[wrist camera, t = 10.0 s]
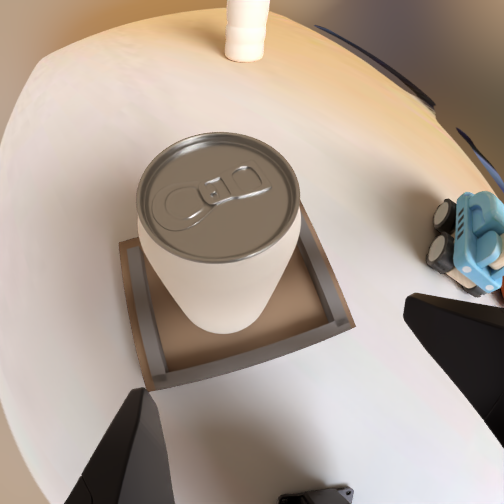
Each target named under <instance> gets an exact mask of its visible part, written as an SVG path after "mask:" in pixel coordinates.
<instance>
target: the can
mask: <svg viewBox="0 0 504 504" xmlns="http://www.w3.org/2000/svg"><path fill="white" fill-rule="evenodd" d="M299 204H300V188H299V183H298V180H297V177H296V175H295V173H294V171H293V169H292V167H291V166H290V164H289V163H288V162H287V160H286V159H285V158H284V157H283V156H282V155H281V154H280V153H279V152H277V151H276V150H275V149H274V148H272V147H271V146H269V145H267V144H266V143H264V142H262V141H260V140H257V139H255V138H252V137H249V136H246V135H242V134H237V133H229V132H212V133H204V134H199V135H195V136H191V137H188V138H185V139H183V140H180V141H178V142H176V143H174V144H172V145H171V146H169V147H168V148H166V149H165V150H163V151H162V152H161V153H160V154H158V155H157V156H156V157H155V158H154V159H153V160H152V162H151V163H150V164H149V165H148V167H147V168H146V170H145V171H144V173H143V175H142V177H141V179H140V182H139V185H138V189H137V195H136V206H137V212H138V220H137V227H138V235H139V239H140V242H141V245H142V248H143V251H144V253H145V255H146V257H147V258H148V260H149V262H150V264H151V265H152V267H153V269H154V270H155V272H156V273H157V275H158V276H159V278H160V279H161V281H162V282H163V284H164V285H165V287H166V288H167V290H168V291H169V293H170V294H171V295H172V297H173V298H174V300H175V301H176V302H177V304H178V305H179V307H180V308H181V309H182V311H183V312H184V313H185V315H186V316H187V317H188V318H189V319H190V320H191V321H192V322H193V323H194V324H195V325H196V326H198V327H200V328H201V329H203V330H206V331H208V332H212V333H217V334H229V333H234V332H238V331H240V330H243V329H245V328H246V327H248V326H249V325H251V324H252V323H253V322H254V321H255V320H256V319H257V318H258V317H259V316H260V314H261V313H262V311H263V310H264V308H265V306H266V304H267V303H268V301H269V299H270V297H271V295H272V293H273V291H274V290H275V288H276V286H277V284H278V282H279V280H280V278H281V276H282V274H283V272H284V270H285V268H286V266H287V264H288V262H289V260H290V258H291V256H292V254H293V251H294V249H295V247H296V244H297V241H298V237H299V233H300V227H301V213H300V207H299Z"/></svg>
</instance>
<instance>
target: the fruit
mask: <svg viewBox="0 0 504 504" xmlns="http://www.w3.org/2000/svg"><path fill="white" fill-rule="evenodd" d="M501 291H502V294H503V298H504V276H502V286H501Z"/></svg>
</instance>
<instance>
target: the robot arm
mask: <svg viewBox="0 0 504 504" xmlns="http://www.w3.org/2000/svg"><path fill="white" fill-rule="evenodd" d="M403 318H404V321H405V322H406V324H407V325H408V326H409V328H410V329H411V330H412V332H413V333H414V334H415V336H416V337H417V338H418V340H419V341H420V343H421V344H422V345H423V347H424V348H425V349H426V351H427V352H428V353H429V354H430V355H431V356H432V358H433V359H434V360H435V361H436V362H437V363H438V365H439V366H440V367H441V368H442V369H443V370H444V372H445V373H446V374H447V375H448V376H449V378H450V379H451V380H452V381H453V382H454V384H455V385H456V386H457V387H458V388H459V390H460V391H461V392H462V393H463V395H464V396H465V397H466V398H467V400H468V401H469V402H470V403H471V405H472V406H473V407H474V408H475V410H476V411H477V412H478V414H479V415H480V416H481V418H482V419H483V420H484V422H485V423H486V425H487V426H488V427H489V429H490V430H491V431H492V433H493V434H494V435H495V437H496V438H497V440H498V441H499V442H500V444H501V445H502V447H503V448H504V308H500V307H499V308H498V307H494V306H488V305H482V304H477V303H471V302H465V301H459V300H454V299H448V298H443V297H437V296H432V295H426V294H420V293H413V294H411V295H409V296H408V297H407V298H406V300H405V307H404V313H403ZM347 491H349V493H347V494H346V492H347ZM353 493H354V490H353V489H352V488H350V487H346V488H340V489H334V488H331V489H324V490H316V491H306V492H305V493H300V494H285V495H281V496H280V497H279V498H278V503H277V504H351V503H352V498H353ZM283 499H287V500H286V501H282V500H283ZM64 504H175V502H174V496H173V490H172V484H171V477H170V470H169V462H168V455H167V449H166V445H165V440H164V436H163V432H162V427H161V422H160V417H159V412H158V408H157V405H156V403H155V402H154V400H153V399H152V397H151V396H150V394H149V393H148V391H147V390H146V389H145V388H143V387H142V388H136V389H132V390H131V391H130V393H129V394H128V396H127V398H126V399H125V401H124V403H123V404H122V406H121V407H120V409H119V411H118V412H117V414H116V416H115V417H114V419H113V421H112V422H111V424H110V426H109V427H108V429H107V431H106V433H105V434H104V436H103V438H102V439H101V441H100V443H99V445H98V446H97V448H96V450H95V451H94V453H93V455H92V457H91V458H90V460H89V462H88V464H87V465H86V467H85V469H84V471H83V473H82V476H80V478H79V479H78V481H77V483H76V485H75V487H74V488H73V490H72V492H71V493H70V495H69V497H68V498H67V500H66V501H65V503H64Z"/></svg>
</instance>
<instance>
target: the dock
mask: <svg viewBox="0 0 504 504" xmlns="http://www.w3.org/2000/svg"><path fill="white" fill-rule="evenodd" d="M299 207H300V213H301V227H300V233H299V237H298V241H297V244H296V247H295V249H294V251H293V254H292V256H291V258H290V260H289V262H288V264H287V266H286V268H285V270H284V272H283V274H282V276H281V278H280V280H279V282H278V284H277V286H276V288H275V290H274V291H273V293H272V295H271V297H270V299H269V301H268V303H267V304H266V306H265V308H264V310H263V311H262V313H261V314H260V316H259V317H258V318H257V319H256V320H255V321H254V322H253V323H252V324H251V325H249V326H248V327H246V328H245V329H243V330H240V331H238V332H234V333H229V334H217V333H212V332H208V331H206V330H203V329H201V328H200V327H198V326H196V325H195V324H194V323H193V322H192V321H191V320H190V319H189V318H188V317H187V316H186V315H185V313H184V312H183V311H182V309H181V308H180V307H179V305H178V304H177V302H176V301H175V300H174V298H173V297H172V295H171V294H170V293H169V291H168V290H167V288H166V287H165V285H164V284H163V282H162V281H161V279H160V278H159V276H158V275H157V273H156V272H155V270H154V269H153V267H152V265H151V264H150V262H149V260H148V258H147V257H146V255H145V253H144V251H143V248H142V245H141V242H140V239H139V237H137V238H133V239H130V240H126V241H123V242H119V251H120V260H121V268H122V276H123V283H124V290H125V296H126V302H127V308H128V313H129V319H130V324H131V329H132V333H133V338H134V343H135V347H136V351H137V356H138V360H139V364H140V367H141V371H142V375H143V379H144V382H145V386H146V389H147V391H148V392H150V391H156V390H161V389H166V388H171V387H175V386H180V385H184V384H188V383H193V382H197V381H201V380H205V379H208V378H212V377H216V376H220V375H223V374H227V373H230V372H234V371H237V370H241V369H244V368H247V367H250V366H254V365H257V364H260V363H263V362H266V361H269V360H272V359H275V358H278V357H281V356H284V355H286V354H289V353H292V352H295V351H298V350H300V349H303V348H306V347H308V346H311V345H313V344H316V343H318V342H321V341H323V340H326V339H328V338H331V337H333V336H336V335H338V334H340V333H343V332H345V331H347V330H350V329H352V328H354V327H356V326H355V323H354V320H353V318H352V315H351V313H350V310H349V308H348V305H347V303H346V300H345V298H344V296H343V293H342V291H341V288H340V286H339V284H338V281H337V279H336V277H335V274H334V272H333V270H332V267H331V265H330V263H329V260H328V258H327V256H326V254H325V252H324V249H323V247H322V245H321V243H320V241H319V238H318V236H317V234H316V232H315V230H314V228H313V226H312V223H311V221H310V219H309V217H308V215H307V213H306V211H305V209H304V207H303V205H302V203H301V201H300V204H299Z"/></svg>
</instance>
